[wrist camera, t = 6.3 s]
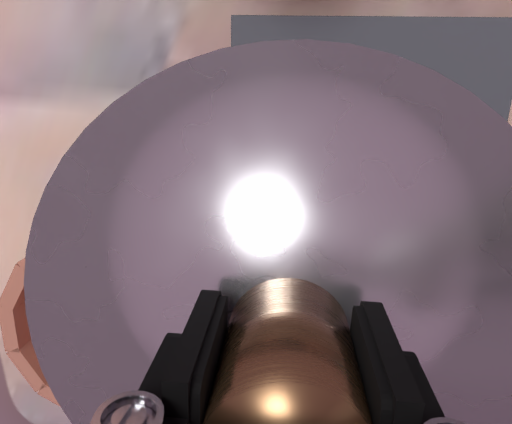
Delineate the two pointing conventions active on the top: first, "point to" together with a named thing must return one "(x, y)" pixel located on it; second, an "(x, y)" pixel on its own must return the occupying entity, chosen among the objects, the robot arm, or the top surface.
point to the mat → (409, 44)
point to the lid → (281, 234)
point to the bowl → (21, 333)
